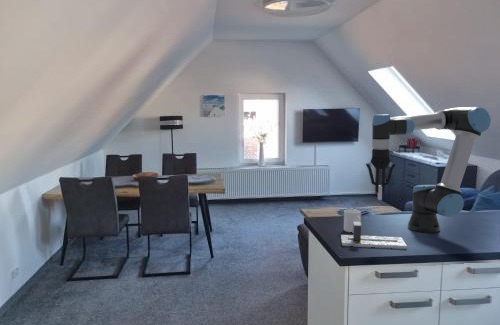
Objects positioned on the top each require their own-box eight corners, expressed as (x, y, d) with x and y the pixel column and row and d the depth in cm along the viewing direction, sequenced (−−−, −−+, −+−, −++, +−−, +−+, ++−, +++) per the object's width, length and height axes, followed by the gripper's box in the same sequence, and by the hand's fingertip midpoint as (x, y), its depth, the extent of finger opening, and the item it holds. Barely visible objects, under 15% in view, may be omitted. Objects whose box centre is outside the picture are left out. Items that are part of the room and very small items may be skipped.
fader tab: (359, 236, 197) (360, 221, 196) (360, 240, 191) (361, 225, 190) (352, 236, 197) (353, 221, 196) (353, 240, 191) (354, 224, 190)
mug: (367, 234, 207) (368, 214, 206) (353, 235, 205) (353, 215, 204) (354, 227, 219) (355, 208, 218) (340, 229, 216) (341, 209, 215)
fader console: (401, 240, 197) (401, 236, 197) (406, 249, 184) (406, 245, 184) (340, 237, 202) (340, 234, 202) (342, 246, 189) (342, 242, 189)
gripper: (394, 147, 192) (392, 198, 195) (364, 147, 194) (364, 197, 197) (397, 149, 184) (395, 201, 187) (366, 149, 186) (366, 201, 189)
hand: (379, 199), depth 192 cm, fingers closed
